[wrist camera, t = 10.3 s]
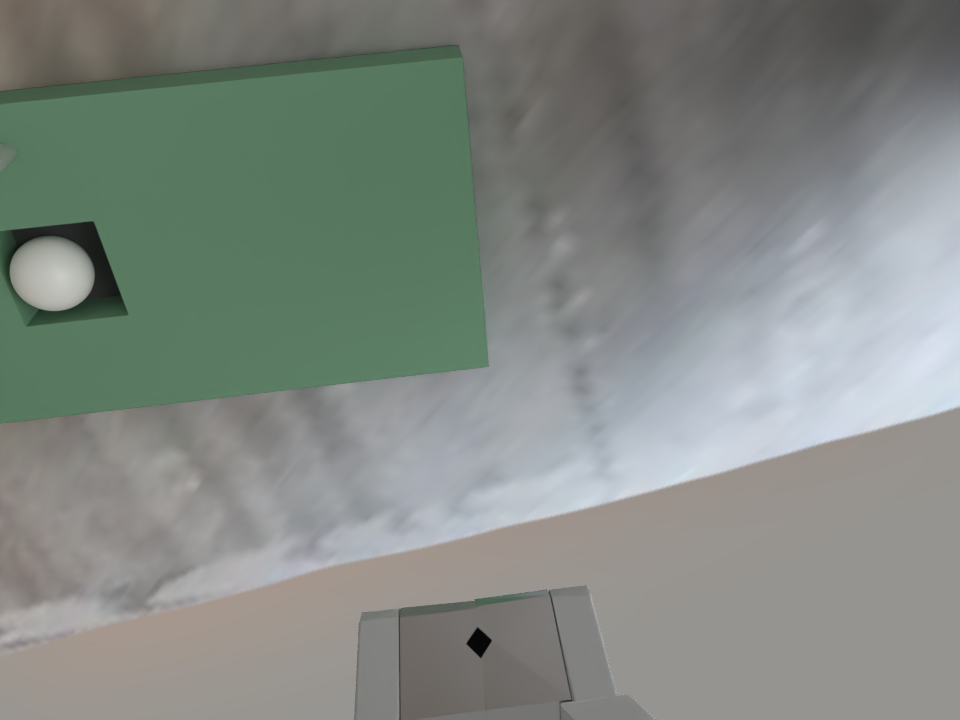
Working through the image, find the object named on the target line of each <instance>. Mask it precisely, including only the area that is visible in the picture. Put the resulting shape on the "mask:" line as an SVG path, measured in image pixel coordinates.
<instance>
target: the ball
mask: <svg viewBox="0 0 960 720" xmlns="http://www.w3.org/2000/svg"><path fill="white" fill-rule="evenodd" d="M10 279H11V283H12V285H13V287H14V289H15V291H16V292H17V294H18V295H19V296H20V297H21V298H22V299H23V300H24V301H25V302H27V303H28V304H30V305H32V306H34V307H36V308H39V309H42V310H47V311H62V310H66V309H70V308H72V307H75V306H76V305H78V304H79V303H81V302H82V301H83V300H84V299H85V298H86V297H87V296H88V295H89V293H90V292H91V290H92V287H93V285H94V280H95V271H94V266H93V263H92V261H91V259H90V257H89V255H88V254H87V253H86V252H85V250H84V249H83V248H82V247H80V246H79V245H78V244H76V243H75V242H73V241H71V240H69V239H66V238H63V237H59V236H42V237H37V238H34V239H32V240H30V241H28V242H26V243H25V244H23V245H22V246H21V247H20V248H19V249H18V250H17V251H16V252H15V254H14V256H13V258H12V260H11V264H10Z"/></svg>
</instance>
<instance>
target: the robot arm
mask: <svg viewBox="0 0 960 720" xmlns="http://www.w3.org/2000/svg"><path fill="white" fill-rule="evenodd" d="M358 631H359V632H358V651H357V673H356V693H355V714H354V720H656V719H655V718H654V717H653V716H652V715H651V714H650V713H649V712H648V711H647V710H645V709H644V708H643V707H642V706H641V705H640V704H639V703H638V702H637V701H636V700H635V699H634V698H633V697H631V695H618V694H617V690H616V687H615V683H614V679H613V675H612V672H611V668H610V664H609V660H608V656H607V653H606V649H605V645H604V641H603V638H602V634H601V630H600V626H599V622H598V619H597V615H596V611H595V608H594V604H593V600H592V596H591V593H590V591H589V589H588V588H587V586H577V587H570V588H562V589H553V590H549V592H548V590H539V591H533V592H525V593H518V594H511V595H503V596H496V597H489V598H482V599H475V601H470V602H469V601H468V602H459V603H448V604H437V605H427V606H417V607H407V608H401V609H400V608H399V609H389V610H380V611H371V612H362V615H361V618H360V622H359V630H358Z"/></svg>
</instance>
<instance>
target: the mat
mask: <svg viewBox="0 0 960 720" xmlns="http://www.w3.org/2000/svg"><path fill="white" fill-rule="evenodd" d="M42 236H59V237H63V238H66V239H69V240H71V241H73V242H75V243H76V244H78V245H79V246H80V247H82V248H83V249H84V250H85V252H86V253H87V254H88V255H89V257H90V259H91V261H92V263H93V266H94V271H95V280H94V285H93V287H92V290H91V292H90V293H89V295H88V296H87V297H86V298H85V299H84V300H83V301H82V302H81V303H79V304H78V305H76V306H75V307H72V308H70V309H66V310H62V311H47V310H42V309H39V308H36V307H34V306H32V305H30V304H28V303H27V302H25V301H24V300H23V299H22V298H21V297H20V296H19V295H18V294H17V292H16V291H15V289H14V287H13V285H12V283H11V279H10V264H11V260H12V258H13V256H14V254H15V252H16V251H17V250H18V249H19V248H20V247H21V246H22V245H23V244H25V243H26V242H28V241H30V240H32V239H34V238H37V237H42ZM481 367H489V364H488V352H487V341H486V329H485V317H484V305H483V293H482V282H481V270H480V258H479V246H478V234H477V223H476V211H475V199H474V187H473V175H472V164H471V152H470V140H469V128H468V116H467V105H466V93H465V81H464V69H463V57H462V54H461V51H460V48H459V46H458V45H454V46H444V47H434V48H425V49H415V50H405V51H395V52H385V53H375V54H365V55H355V56H345V57H336V58H326V59H316V60H306V61H296V62H286V63H276V64H266V65H256V66H247V67H237V68H227V69H217V70H207V71H197V72H187V73H177V74H167V75H158V76H148V77H138V78H128V79H118V80H108V81H98V82H88V83H78V84H68V85H59V86H49V87H39V88H29V89H19V90H9V91H0V423H8V422H17V421H26V420H34V419H43V418H51V417H60V416H69V415H77V414H86V413H94V412H103V411H112V410H120V409H129V408H137V407H146V406H155V405H163V404H172V403H180V402H189V401H198V400H206V399H215V398H223V397H232V396H241V395H249V394H258V393H266V392H275V391H284V390H292V389H301V388H309V387H318V386H327V385H335V384H344V383H352V382H361V381H370V380H378V379H387V378H395V377H404V376H413V375H421V374H430V373H438V372H447V371H456V370H464V369H473V368H481Z"/></svg>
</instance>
